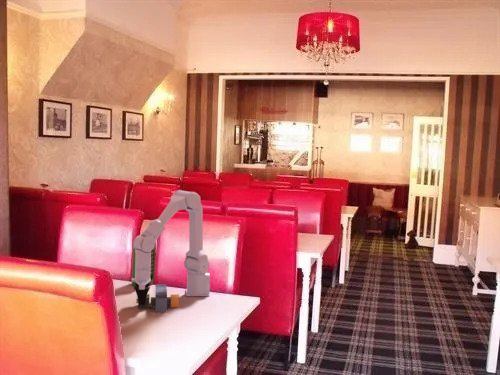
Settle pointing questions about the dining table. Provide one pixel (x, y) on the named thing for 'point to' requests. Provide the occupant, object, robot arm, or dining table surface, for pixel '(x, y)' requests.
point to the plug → (171, 301)
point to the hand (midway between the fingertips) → (141, 302)
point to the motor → (151, 267)
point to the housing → (161, 298)
